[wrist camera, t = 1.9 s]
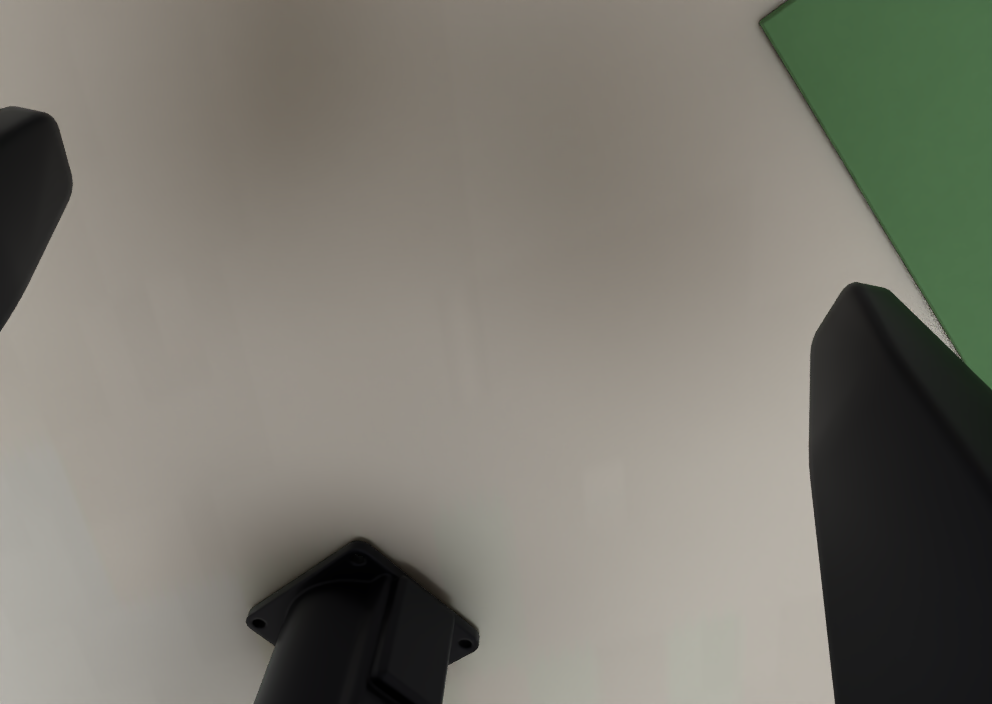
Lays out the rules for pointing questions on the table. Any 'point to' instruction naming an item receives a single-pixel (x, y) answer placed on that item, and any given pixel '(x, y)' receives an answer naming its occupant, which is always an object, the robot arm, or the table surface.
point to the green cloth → (910, 136)
